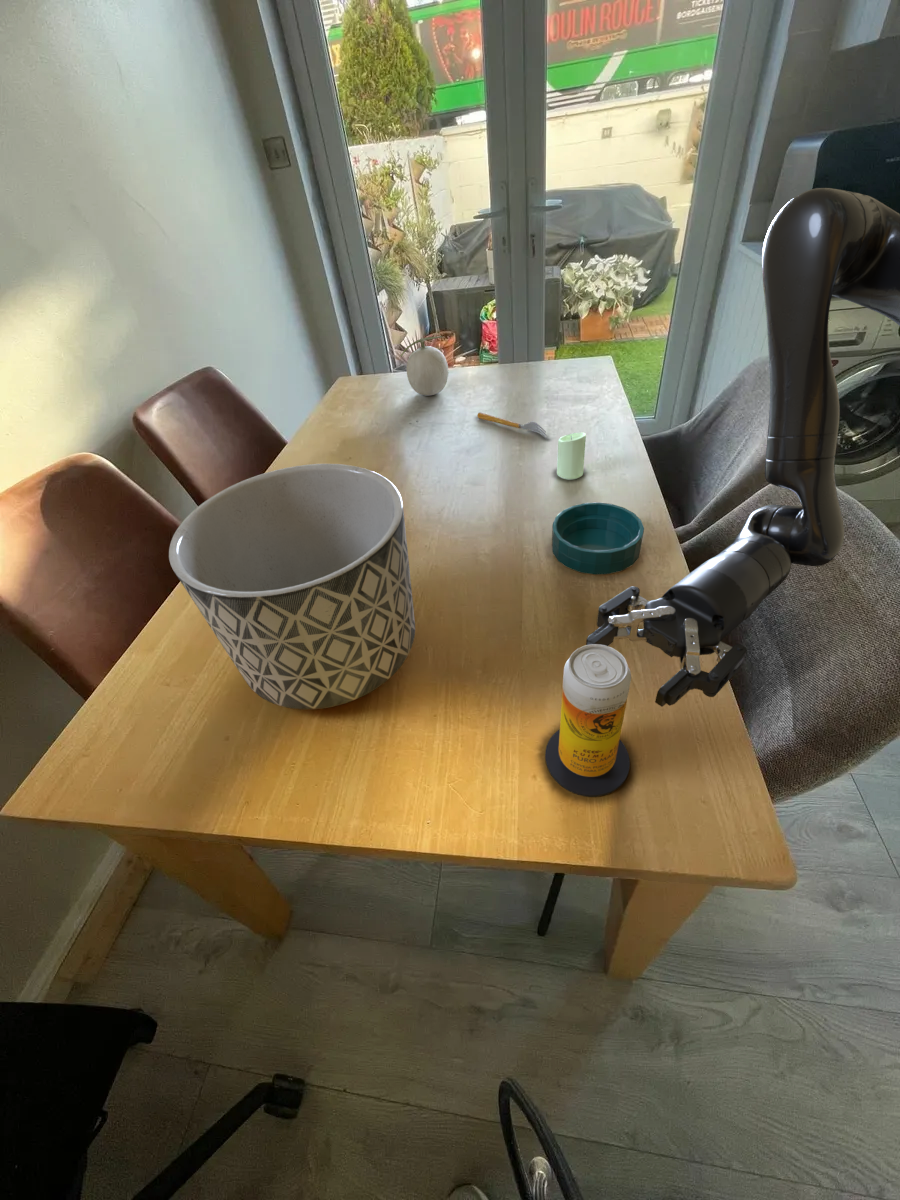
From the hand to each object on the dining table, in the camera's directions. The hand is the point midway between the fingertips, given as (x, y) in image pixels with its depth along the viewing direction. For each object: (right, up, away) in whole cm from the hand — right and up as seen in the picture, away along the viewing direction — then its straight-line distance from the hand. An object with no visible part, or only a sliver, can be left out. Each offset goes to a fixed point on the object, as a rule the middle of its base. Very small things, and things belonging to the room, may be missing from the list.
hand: (622, 674), depth 54 cm
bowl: (+6, +15, +34) cm, 38 cm away
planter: (-33, 0, +22) cm, 40 cm away
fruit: (-23, +61, +89) cm, 110 cm away
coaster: (-2, -10, +6) cm, 12 cm away
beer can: (-2, -10, +6) cm, 12 cm away
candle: (+6, +32, +52) cm, 61 cm away
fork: (-3, +46, +70) cm, 83 cm away
